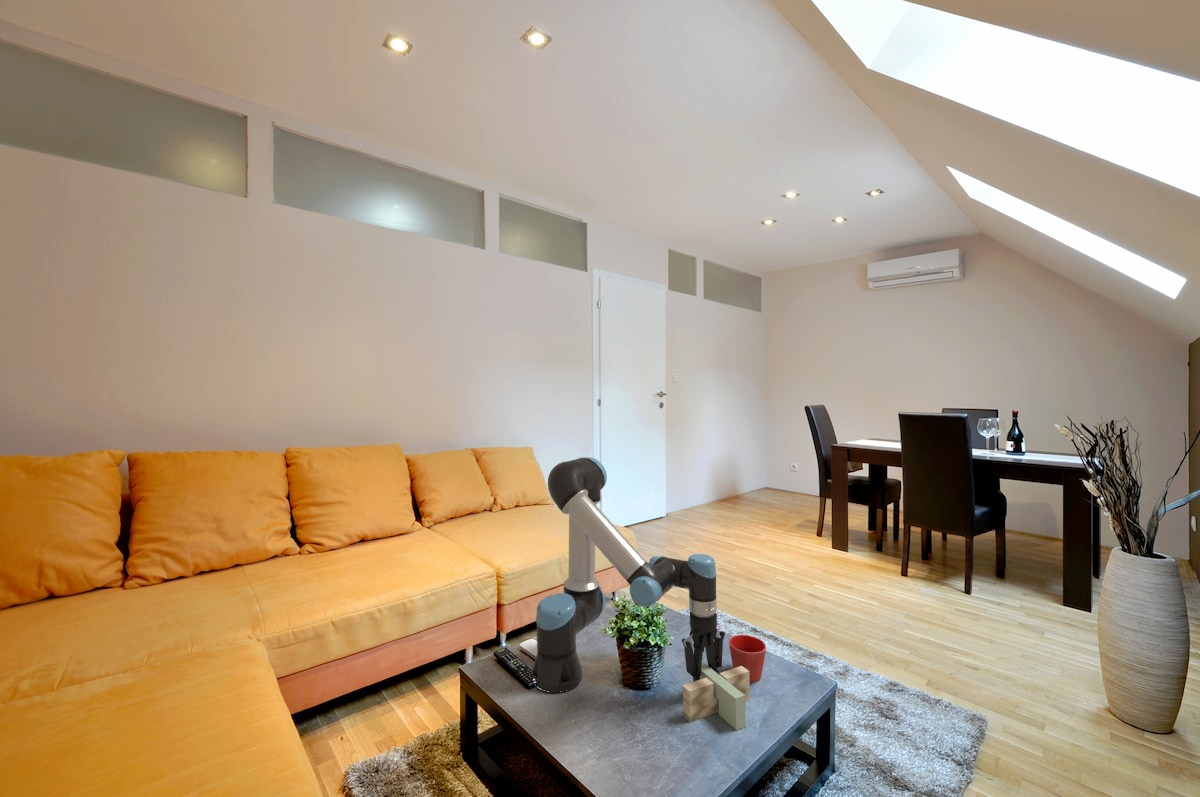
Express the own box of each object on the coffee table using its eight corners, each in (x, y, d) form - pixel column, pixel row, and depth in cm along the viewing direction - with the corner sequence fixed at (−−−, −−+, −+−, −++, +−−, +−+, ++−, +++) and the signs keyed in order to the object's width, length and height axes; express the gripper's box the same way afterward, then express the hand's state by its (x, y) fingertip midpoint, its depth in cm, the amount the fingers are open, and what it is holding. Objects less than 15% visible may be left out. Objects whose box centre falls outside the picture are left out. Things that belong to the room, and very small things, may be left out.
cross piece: (745, 726, 122) (744, 695, 122) (736, 730, 121) (735, 698, 121) (702, 688, 139) (701, 660, 139) (693, 691, 137) (692, 663, 137)
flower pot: (761, 665, 150) (761, 634, 150) (770, 687, 139) (770, 653, 139) (726, 664, 151) (726, 633, 151) (732, 685, 140) (732, 652, 140)
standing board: (690, 722, 124) (689, 691, 124) (683, 715, 127) (682, 685, 127) (749, 700, 133) (749, 671, 133) (742, 694, 136) (741, 665, 136)
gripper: (687, 624, 128) (689, 712, 128) (734, 611, 135) (736, 694, 135) (671, 612, 135) (673, 696, 135) (717, 601, 142) (719, 680, 142)
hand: (704, 695), depth 135 cm, fingers closed on cross piece, 3 cm apart
